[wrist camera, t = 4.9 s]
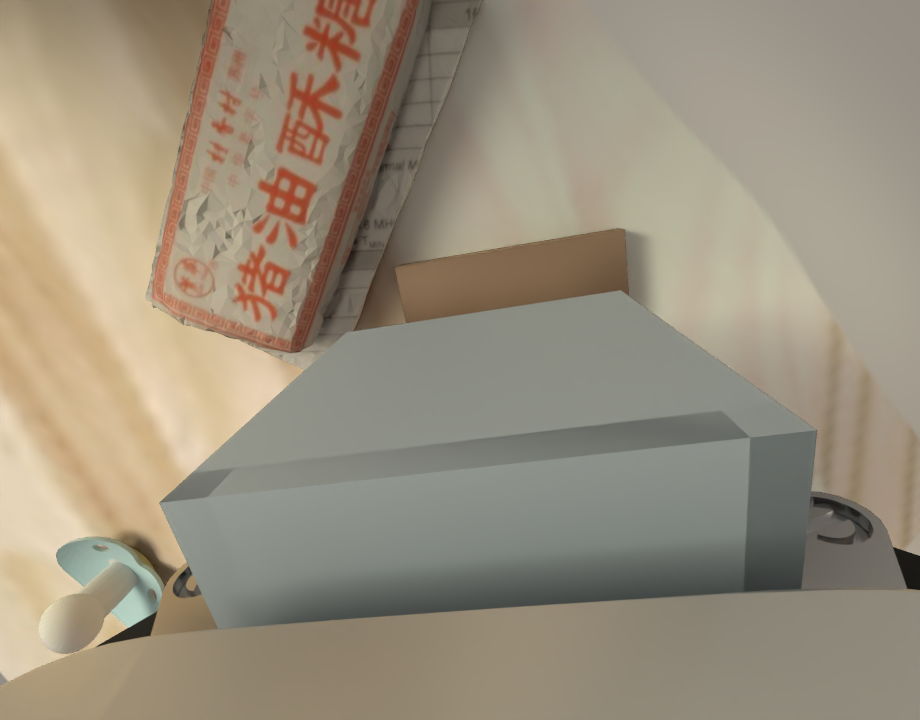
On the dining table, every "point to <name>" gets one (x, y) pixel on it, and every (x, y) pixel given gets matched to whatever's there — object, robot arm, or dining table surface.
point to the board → (514, 276)
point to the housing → (499, 473)
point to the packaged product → (299, 163)
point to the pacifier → (99, 592)
